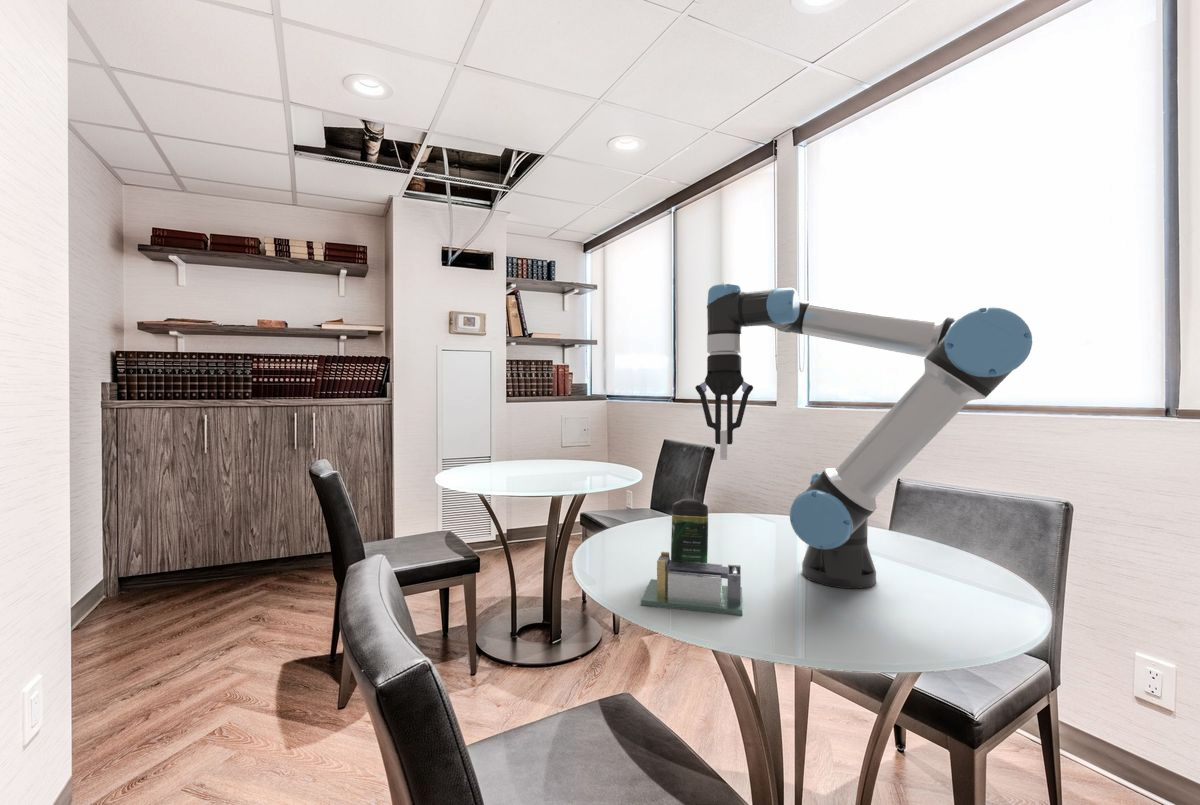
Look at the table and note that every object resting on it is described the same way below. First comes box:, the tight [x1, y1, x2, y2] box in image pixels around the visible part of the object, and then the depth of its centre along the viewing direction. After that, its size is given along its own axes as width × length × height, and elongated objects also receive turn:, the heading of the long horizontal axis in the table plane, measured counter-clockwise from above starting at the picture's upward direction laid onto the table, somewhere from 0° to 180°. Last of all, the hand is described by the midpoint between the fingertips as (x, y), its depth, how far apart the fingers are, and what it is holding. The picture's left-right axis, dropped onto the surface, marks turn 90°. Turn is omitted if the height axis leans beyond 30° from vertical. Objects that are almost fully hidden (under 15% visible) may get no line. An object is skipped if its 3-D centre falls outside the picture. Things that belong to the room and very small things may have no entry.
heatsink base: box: [640, 551, 743, 616], centre depth 107 cm, size 19×12×8 cm, turn 75°
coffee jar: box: [670, 497, 709, 563], centre depth 117 cm, size 10×8×19 cm
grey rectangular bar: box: [657, 555, 729, 580], centre depth 107 cm, size 14×4×2 cm, turn 75°
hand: (723, 458), depth 120 cm, fingers closed
